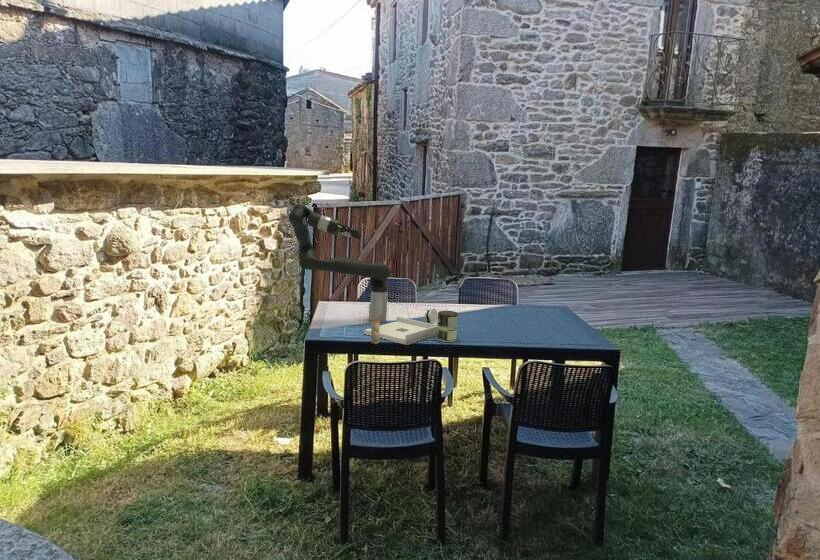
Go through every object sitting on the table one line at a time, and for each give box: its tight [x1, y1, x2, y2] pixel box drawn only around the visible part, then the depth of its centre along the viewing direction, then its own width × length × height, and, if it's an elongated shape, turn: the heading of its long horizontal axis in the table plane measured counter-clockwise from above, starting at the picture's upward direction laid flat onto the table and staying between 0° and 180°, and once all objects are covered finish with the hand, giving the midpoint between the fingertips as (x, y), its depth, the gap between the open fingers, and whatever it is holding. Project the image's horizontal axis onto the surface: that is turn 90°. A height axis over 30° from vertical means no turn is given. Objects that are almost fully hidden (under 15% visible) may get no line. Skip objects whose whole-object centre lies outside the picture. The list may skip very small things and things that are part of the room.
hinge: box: [423, 308, 438, 325], centre depth 354 cm, size 17×5×10 cm, turn 164°
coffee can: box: [436, 310, 459, 343], centre depth 324 cm, size 10×10×14 cm
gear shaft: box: [370, 318, 381, 345], centre depth 313 cm, size 4×4×12 cm
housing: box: [363, 316, 438, 346], centre depth 331 cm, size 28×28×5 cm
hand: (359, 235), depth 310 cm, fingers open, 8 cm apart
